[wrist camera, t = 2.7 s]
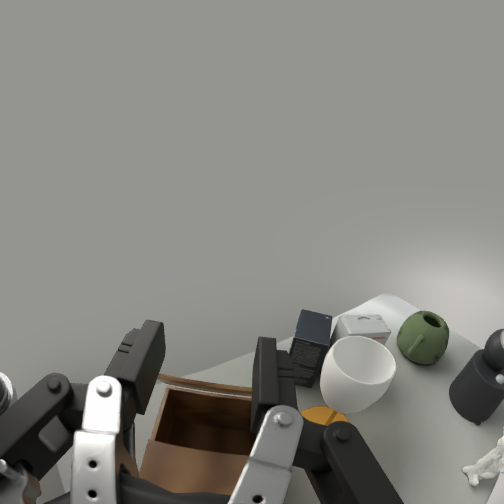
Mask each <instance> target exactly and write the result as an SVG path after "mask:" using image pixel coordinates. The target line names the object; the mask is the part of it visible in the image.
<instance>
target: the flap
mask: <svg viewBox="0 0 504 504" xmlns="http://www.w3.org/2000/svg"><path fill="white" fill-rule="evenodd" d="M157 379H158V380H160V381H162V382H164V383H166V384H170V385H175V386H180V387H185V388H191V389H197V390H203V391H210V392H217V393H224V394H233V395H242V396H252V388H250V387H240V386H232V385H224V384H216V383H209V382H203V381H196V380H190V379H185V378H179V377H174V376H169V375H164V374H158V377H157Z"/></svg>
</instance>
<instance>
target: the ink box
mask: <svg viewBox="0 0 504 504" xmlns="http://www.w3.org/2000/svg"><path fill="white" fill-rule="evenodd" d="M390 333H391V331H390V329H389V328H388V327H387V325H386V324H385V322H384V320H383V319H382V317H381V316H380V315H343V316H340V317H339V318H338V321H337V324H336V326H335V329H334V331H333V334H332V336H331V339H330V345H329V348H328V350H327V353H328V352H329V350H330V349H331V347H332V346H333V345H334V344H335V343H336V341H337V340H339V339H341V338H344V337H347V336H362V337H366V338H371V339H373V340H375V341H377V342H379V343H381V344H382V345H383V346H384V345H385V343H386V341H387V339H388V337H389V335H390ZM327 353H326V355H327ZM326 355H325V357H326ZM324 360H325V358H324ZM324 360H323V362H322V365H321V367H323V364H324Z"/></svg>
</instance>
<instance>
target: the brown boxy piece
mask: <svg viewBox="0 0 504 504" xmlns="http://www.w3.org/2000/svg"><path fill="white" fill-rule="evenodd" d="M251 404H252V398H247V397H237V396H228V395H221V394H213V393H206V392H200V391H194V390H188V389H183V388H177V387H172V386H167V387H166V390H165V393H164V396H163V399H162V403H161V406H160V409H159V412H158V416H157V419H156V422H155V426H154V429H153V432H152V436H151V439H149V440H148V444H147V447H146V451H145V454H144V458H143V461H142V465H141V468H140V472H139V478H141V479H145V480H147V481H149V482H151V483H153V484H155V485H157V486H159V487H161V488H163V489H165V490H168V491H170V492H172V493H198V492H208V493H216V494H225V495H232V493H233V491H234V489H235V487H236V484H237V482H238V480H239V478H240V475H241V473H242V471H243V468H244V466H245V464H246V462H247V459H248V458H249V455H250V453H251V451H252V448H253V446H254V443H255V441H256V434H255V433H250V430H251Z"/></svg>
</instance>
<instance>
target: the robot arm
mask: <svg viewBox="0 0 504 504" xmlns="http://www.w3.org/2000/svg"><path fill="white" fill-rule="evenodd" d="M165 347H166V346H165V335H164V325H163V323H162V322H157V321H152V320H146V321H145V322H144V324H143V326H142V328H141V330H140V329H133V330H132V331H130V332H129V333H128V334H126V336H125V337H124V339H123V341H122V343H121V345H120V346H119V348H118V351H117V352H116V353H115V355H114V357H113V359H112V361H111V363H110V364H109V366H108V368H107V370H106V372H105V374H104V375H103V376H99V377H96V378H94V379H93V380H92V381H91V382H90V383H89V384H75V383H70V382H69V381H68V379H67V377H66V376H64V375H62V374H60V373H52V374H49V375H47V376H45V377H44V378H43V379H42V380H41V381H39V382H38V383H37V384H36V385H35V386H34V387H33V388H31V389H30V390H29V391H28V392H27V393H26V394H25V395H23V396H22V397H21V398H20V399H19V400H18V401H16V402H15V403H14V404H13V405H12V406H11V407H10V408H9V409H7V410H6V411H5V412H4V413H3V414H2V415H1V416H0V504H36V499H37V497H39V496H40V495H41V489H40V483H39V481H40V480H41V479H42V478H43V477H44V475H45V474H46V473H47V472H48V471H49V470H50V469H51V468H52V467H53V466H54V465H55V464H56V463H57V462H58V460H59V459H60V458H61V457H62V456H63V455H64V454H65V453H66V452H67V451H68V450H69V449H70V448H71V447H72V445H73V451H72V464H71V485H70V492H68V493H66V494H64V495H62V496H59V497H57V498H55V499H53V500H51V501H49V502H46V503H44V504H283V501H284V498H285V495H286V492H287V489H288V486H289V483H290V479H291V475H292V470H291V467H292V465H293V466H296V467H300V468H304V469H305V472H306V474H307V476H308V478H309V480H310V482H311V484H312V486H313V488H314V490H315V492H316V494H317V496H318V498H319V501H320V503H321V504H404V503H403V501H402V500H401V498H400V497H399V495H398V493H397V492H396V490H395V489H394V487H393V485H392V484H391V482H390V481H389V479H388V478H387V476H386V474H385V473H384V471H383V470H382V468H381V466H380V465H379V463H378V462H377V460H376V458H375V457H374V455H373V454H372V452H371V450H370V449H369V447H368V446H367V444H366V443H365V441H364V439H363V438H362V436H361V435H360V433H359V431H358V430H357V428H356V427H355V426H354V425H352V424H351V423H349V422H345V421H335V422H332V423H331V424H329V425H328V426H326V425H322V424H318V423H315V422H312V421H309V420H307V419H306V418H305V417H303V416H302V415H301V413H300V412H299V410H298V407H297V399H296V390H295V381H294V372H293V363H292V359H291V357H290V355H289V354H288V352H287V351H283V350H277V347H276V338H267V337H259V338H258V343H257V348H256V353H255V358H254V364H253V377H252V404H251V430H250V433H255V434H256V441H255V443H254V446H253V448H252V451H251V453H250V455H249V458H248V459H247V462H246V464H245V466H244V468H243V471H242V473H241V475H240V478H239V480H238V482H237V484H236V487H235V489H234V491H233V493H232V495H225V494H216V493H208V492H198V493H172V492H170V491H168V490H165V489H163V488H161V487H159V486H157V485H155V484H153V483H151V482H149V481H147V480H145V479H141V478H139V473H138V468H137V465H136V458H135V424H134V419H135V416H136V413H138V414H141V415H144V414H145V411H146V408H147V405H148V402H149V400H150V397H151V394H152V391H153V388H154V385H155V383H156V380H157V377H158V374H159V372H160V369H161V366H162V363H163V361H164V357H165V350H166V348H165ZM6 398H7V387H6V384H5V383H4V381H3V379H2V378H1V377H0V409H1V408H2V406H3V405H4V403H5V401H6Z"/></svg>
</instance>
